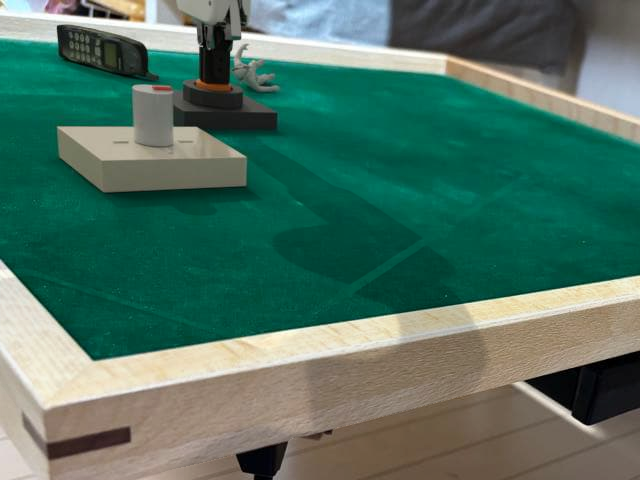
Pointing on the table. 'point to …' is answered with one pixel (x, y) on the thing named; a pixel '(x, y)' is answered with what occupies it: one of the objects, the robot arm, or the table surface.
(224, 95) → the button box
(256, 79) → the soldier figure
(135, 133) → the grey cylinder
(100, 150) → the plate
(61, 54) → the mobile phone
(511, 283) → the table surface
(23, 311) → the table surface
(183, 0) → the robot arm
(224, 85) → the button
